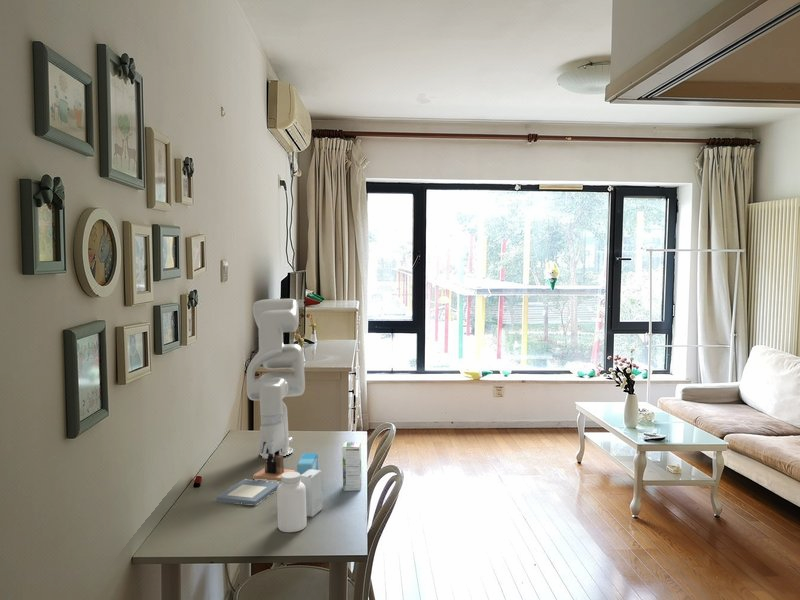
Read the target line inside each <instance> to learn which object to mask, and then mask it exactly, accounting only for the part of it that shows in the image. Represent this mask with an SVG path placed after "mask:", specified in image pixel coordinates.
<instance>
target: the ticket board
mask: <svg viewBox="0 0 800 600" xmlns="http://www.w3.org/2000/svg"><path fill="white" fill-rule="evenodd" d="M280 484H281V482H273V481H263V480H253V478H252V479H251V478H243V479H242V480H240V481H239V482H237V483H236V484H234V485H232V486H231V487H230V488H228V489H226V490H225V491H223V492H222V493H220V494H218V495H217V496H216V497H215V499H216V502H217V503H223V504H233V503H239V504H238V505H242V504H253V505H256V504H257V503H259V502H260V501H261V500H263V499H264V498H266V497H267V496H268V495H270V494H271V493H272V492H274V491H275V490H277V488H278V486H279V485H280ZM275 492H276V491H275ZM275 492H274V493H275ZM271 495H272V494H271ZM271 495H270V496H271ZM267 498H268V497H267ZM267 498H266V499H267ZM263 501H264V500H263ZM241 503H242V504H241ZM259 504H260V503H259Z"/></svg>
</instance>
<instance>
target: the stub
mask: <svg viewBox="0 0 800 600" xmlns="http://www.w3.org/2000/svg"><path fill="white" fill-rule="evenodd" d="M269 456H271V457H272V455H269ZM263 460H264V467H263V468H262V469H260V470H259V471H257V472H256V473H254V474H253V475H252V479H267V480H277V481H281V475H282V474H284V473H286V472H297V470H295V469H287V468H285V467H284V457H283V455H275V462H276V473H268V472H267V462H266V459H264V458H263Z"/></svg>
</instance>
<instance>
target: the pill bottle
mask: <svg viewBox="0 0 800 600" xmlns="http://www.w3.org/2000/svg"><path fill="white" fill-rule="evenodd" d="M300 479H301V476H300V473H298V472H297V471H296V472H286V473H284V474H282V475H281V484H280V485H279V486H278V488H277V491H276V505H277V506H276V507H277V511H276V513H277V526H278V527H277V528H278V530H279V531H280V532H284V533H295V532H299V531H302V530H304V529H305V528H306V527H307V516H306V488H305V485H304V484H303V483H302V482H300V481H301V480H300Z"/></svg>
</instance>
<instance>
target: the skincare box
mask: <svg viewBox="0 0 800 600" xmlns="http://www.w3.org/2000/svg"><path fill="white" fill-rule="evenodd" d="M300 476H301V479H300V480H301V481H300V482H302V483H303V484H304V485H305V488H306V517H308V516H310V517H309V518H311V517H312V518H314V516H316V515H317V514H318V513H319V512H320V511H322V509H323V485H322V483H323V481H322V480H323V479H322V477H323V475H322V470H321V469H318V470H314V469H309V470H308V471H306V472H305V473H303V474H302V475H300Z"/></svg>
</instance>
